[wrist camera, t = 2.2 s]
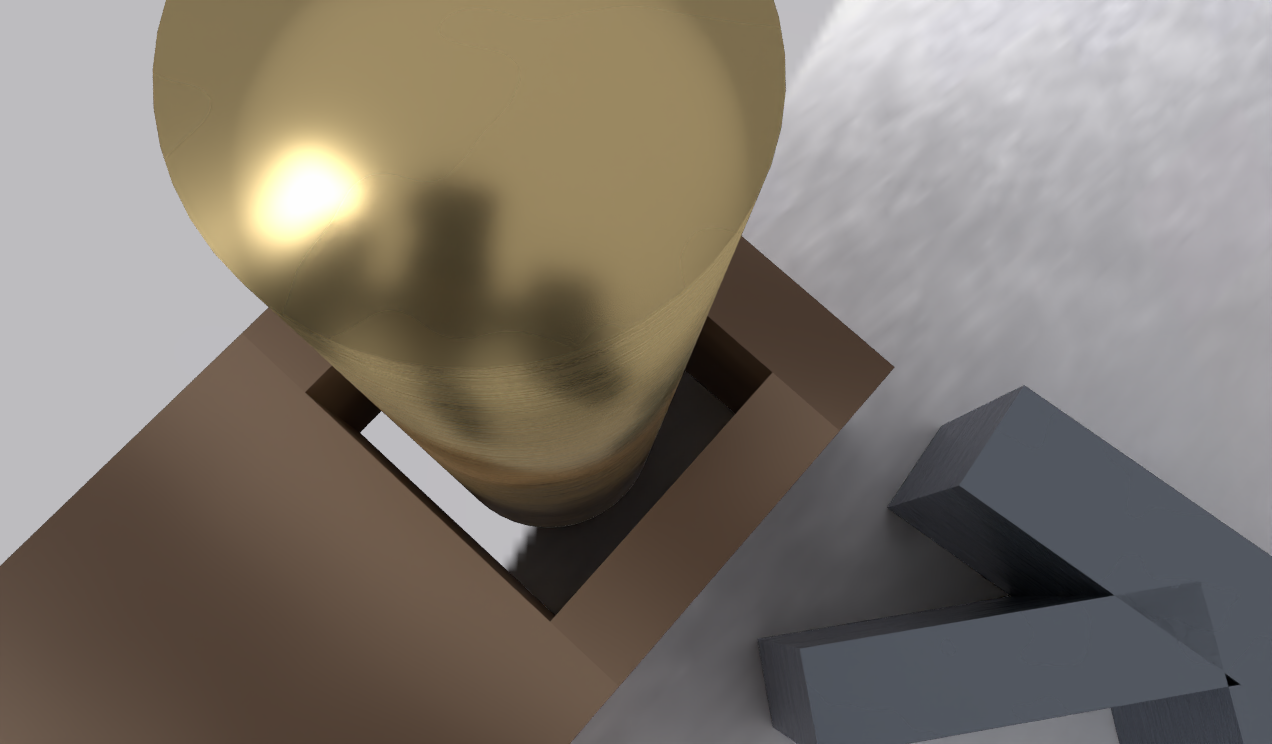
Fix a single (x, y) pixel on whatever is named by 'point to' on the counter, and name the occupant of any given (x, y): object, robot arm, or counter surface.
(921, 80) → the counter surface
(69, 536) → the wooden socket block
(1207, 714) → the steel V-block
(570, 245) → the brass axle
